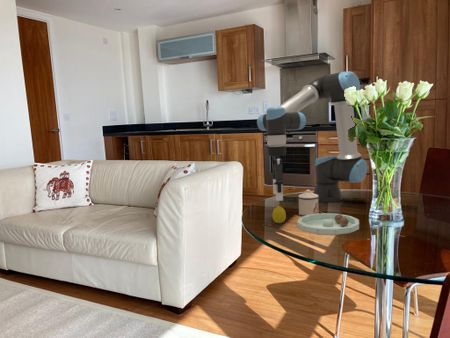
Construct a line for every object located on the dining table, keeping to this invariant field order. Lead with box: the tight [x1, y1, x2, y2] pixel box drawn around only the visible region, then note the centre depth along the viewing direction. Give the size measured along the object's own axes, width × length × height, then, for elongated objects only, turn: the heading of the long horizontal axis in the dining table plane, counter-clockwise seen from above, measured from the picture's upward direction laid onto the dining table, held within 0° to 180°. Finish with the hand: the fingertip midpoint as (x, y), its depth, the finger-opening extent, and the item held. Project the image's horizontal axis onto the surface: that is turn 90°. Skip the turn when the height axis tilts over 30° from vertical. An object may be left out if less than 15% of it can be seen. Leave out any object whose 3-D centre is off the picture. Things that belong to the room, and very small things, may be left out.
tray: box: [296, 212, 360, 236], centre depth 143 cm, size 23×23×4 cm
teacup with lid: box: [297, 189, 320, 216], centre depth 164 cm, size 12×9×12 cm
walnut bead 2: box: [339, 217, 349, 226], centre depth 141 cm, size 4×4×4 cm
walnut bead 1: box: [335, 213, 343, 223], centre depth 145 cm, size 4×4×4 cm
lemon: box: [271, 205, 287, 224], centre depth 151 cm, size 6×6×8 cm
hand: (277, 197), depth 150 cm, fingers open, 13 cm apart
